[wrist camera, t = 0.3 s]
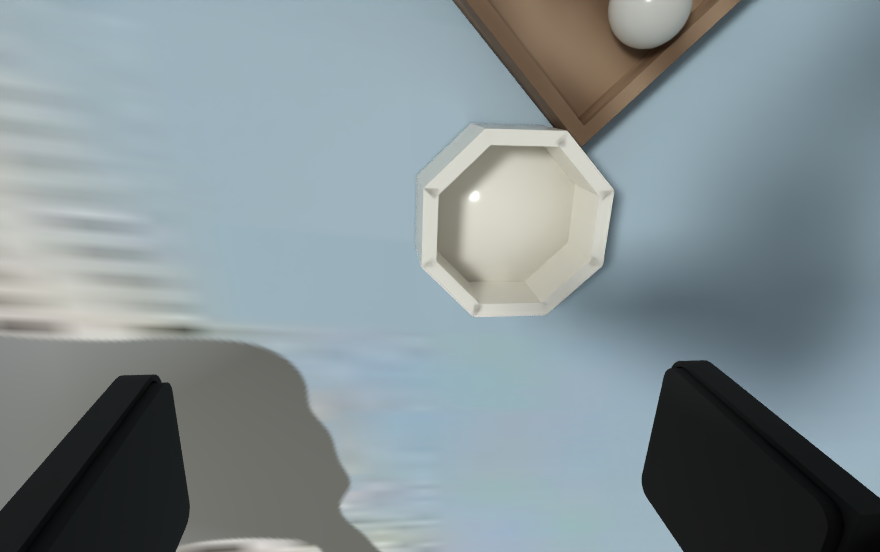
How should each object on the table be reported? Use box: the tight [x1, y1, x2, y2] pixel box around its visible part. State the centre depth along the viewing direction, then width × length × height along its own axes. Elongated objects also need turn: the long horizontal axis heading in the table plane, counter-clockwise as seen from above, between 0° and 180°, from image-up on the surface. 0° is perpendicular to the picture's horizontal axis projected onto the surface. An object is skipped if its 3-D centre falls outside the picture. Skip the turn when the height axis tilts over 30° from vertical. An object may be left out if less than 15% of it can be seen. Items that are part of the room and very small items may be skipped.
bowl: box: [415, 123, 614, 317], centre depth 37 cm, size 13×13×5 cm
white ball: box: [608, 0, 693, 49], centre depth 32 cm, size 5×5×5 cm
